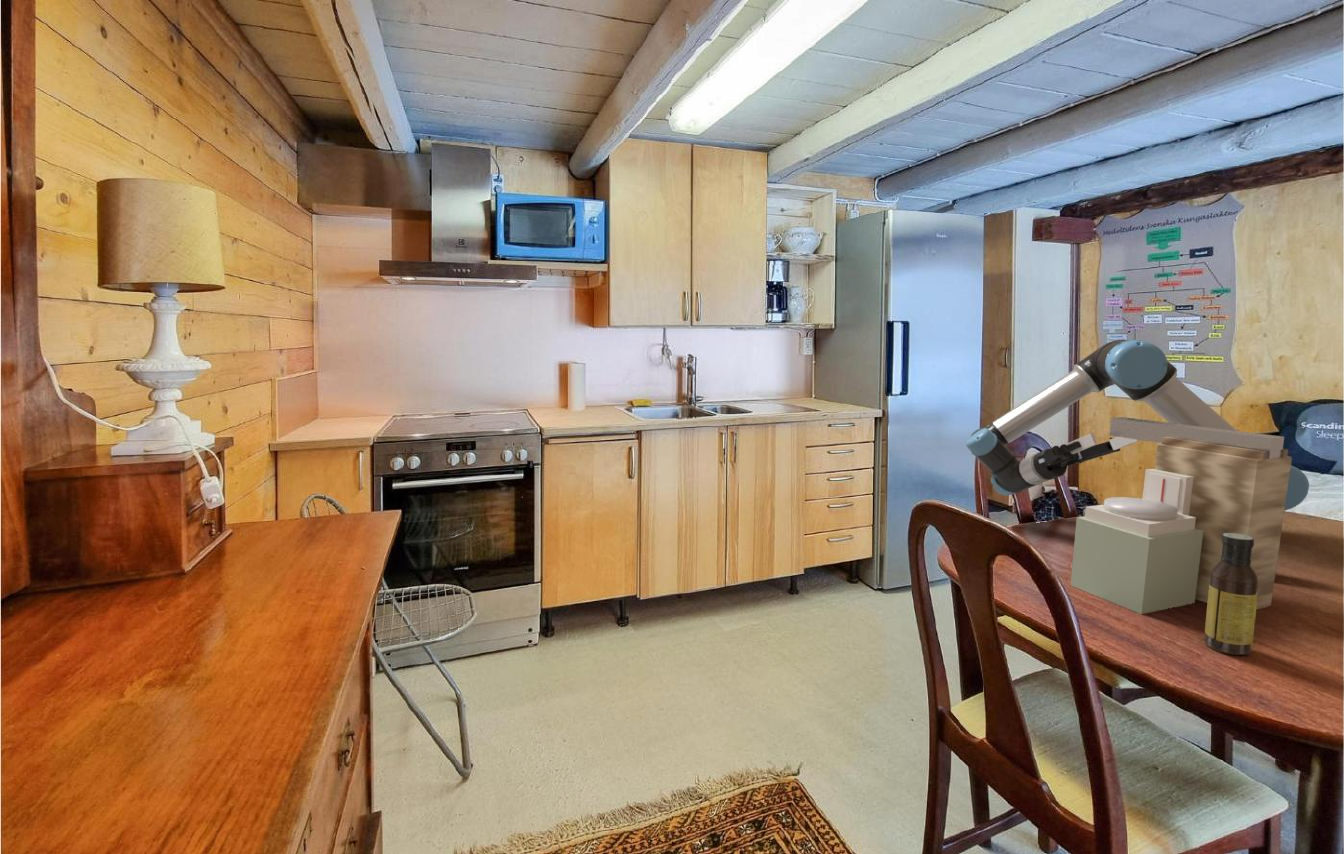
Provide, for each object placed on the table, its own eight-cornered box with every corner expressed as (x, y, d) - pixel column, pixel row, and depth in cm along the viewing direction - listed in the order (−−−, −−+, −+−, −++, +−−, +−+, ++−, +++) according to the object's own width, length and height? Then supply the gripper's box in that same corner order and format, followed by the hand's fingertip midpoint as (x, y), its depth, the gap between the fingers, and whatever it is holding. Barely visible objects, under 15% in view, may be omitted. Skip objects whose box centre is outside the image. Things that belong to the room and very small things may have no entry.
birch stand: (1142, 579, 140) (1158, 437, 136) (1174, 574, 144) (1190, 434, 139) (1237, 613, 123) (1258, 452, 119) (1270, 606, 127) (1293, 449, 122)
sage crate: (1070, 585, 138) (1076, 517, 135) (1120, 576, 142) (1127, 510, 140) (1141, 614, 123) (1149, 539, 121) (1194, 603, 128) (1203, 530, 126)
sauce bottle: (1260, 654, 108) (1276, 540, 105) (1231, 659, 107) (1247, 543, 104) (1220, 637, 114) (1234, 529, 111) (1192, 641, 113) (1206, 531, 110)
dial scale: (1084, 518, 135) (1089, 471, 133) (1135, 511, 140) (1140, 466, 138) (1147, 536, 123) (1153, 485, 121) (1201, 528, 127) (1207, 479, 126)
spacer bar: (1109, 435, 148) (1111, 418, 147) (1121, 434, 149) (1122, 417, 149) (1268, 459, 120) (1271, 438, 120) (1281, 457, 122) (1284, 436, 121)
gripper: (1084, 476, 170) (1160, 448, 151) (1011, 484, 162) (1081, 455, 144) (1074, 450, 173) (1147, 419, 154) (1001, 456, 165) (1068, 424, 146)
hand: (1115, 436), depth 149 cm, fingers open, 13 cm apart
